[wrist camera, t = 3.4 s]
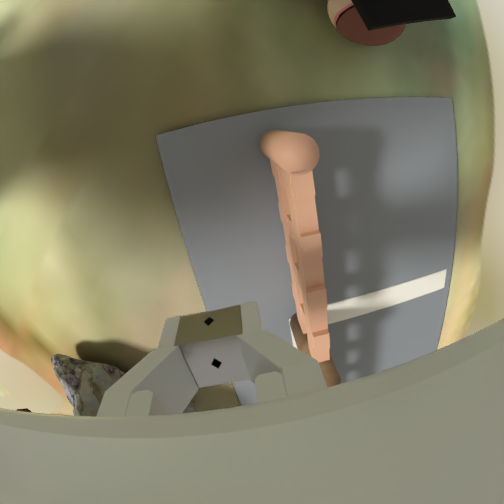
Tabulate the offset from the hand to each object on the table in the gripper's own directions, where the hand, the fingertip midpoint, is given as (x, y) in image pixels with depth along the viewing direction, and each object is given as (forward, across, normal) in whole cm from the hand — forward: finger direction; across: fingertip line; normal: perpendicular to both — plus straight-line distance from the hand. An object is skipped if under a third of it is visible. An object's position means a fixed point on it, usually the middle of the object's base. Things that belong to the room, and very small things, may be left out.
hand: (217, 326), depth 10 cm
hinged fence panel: (+11, -4, +1) cm, 12 cm away
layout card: (+12, -8, +7) cm, 16 cm away
